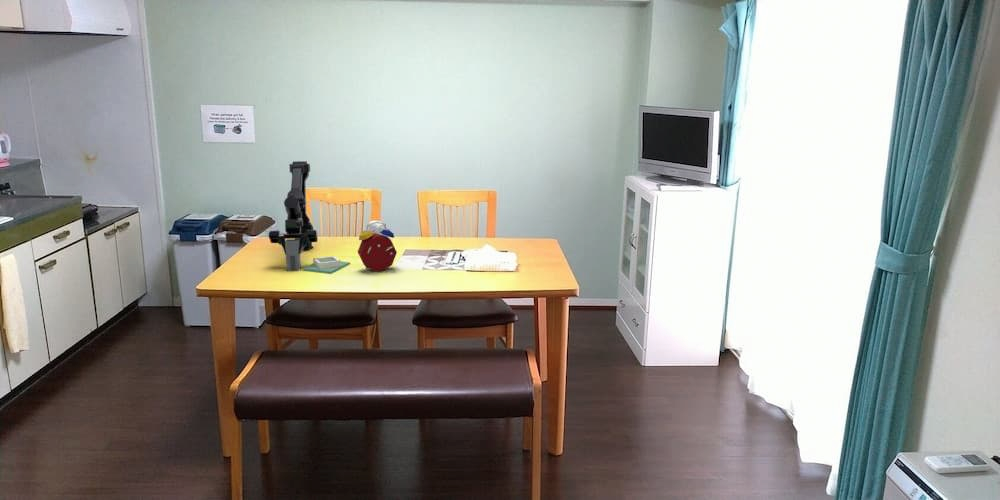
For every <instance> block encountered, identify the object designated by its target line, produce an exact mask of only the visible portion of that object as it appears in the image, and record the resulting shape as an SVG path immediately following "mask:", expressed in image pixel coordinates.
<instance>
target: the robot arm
mask: <svg viewBox="0 0 1000 500" xmlns="http://www.w3.org/2000/svg"><path fill="white" fill-rule="evenodd" d="M310 172H311V163H308V161H306V160H305V161H300V160H298V161H297V160H296V161H294V160H293V161H292V163H289V173H290V174H291V185H290V186H291V187H290V190H289V191H288V192H287V195H286V198H285V200H284V202H283V204H284V208H285V212H286V214H287V219H285V221H284V231H285V233H284V232H280V230H270V231H269V232H268V239H269V241H270V243H271V244H278V245H280V246H281V247H282V249H283V252H284V255H285V256H286V249H285V241H286V239H299V245H300V246H299V255H300V256H301V254H302V252H303V251H304V252H305V251H309V250H310V249H313V248H314V246H313V243H317V242H318V240H319V239H318V232H317V230H316V229H314V226H313V224H312V222H311V219H310V217H309V216H308V214H307V192H306V191H307V190H306V182H307V180H308V178H309V176H310Z"/></svg>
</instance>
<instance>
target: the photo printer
mask: <svg viewBox="0 0 1000 500" xmlns="http://www.w3.org/2000/svg"><path fill="white" fill-rule="evenodd" d="M374 222H379V223H383V222H381V221H379V220H371V221H369V223H368V225H369V224H371V223H374ZM379 223H375V224H372V225H369V226H368V231H371V232H372V231H373V230H375V231H374V232H375V233H377V234H380V235H383V234H381V233H380V232H381V231H382V230H387V229H385V225H384V224H385V223H384V224H379ZM374 232H372V233H373V234H374ZM383 236H386V235H383Z"/></svg>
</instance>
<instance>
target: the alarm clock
mask: <svg viewBox="0 0 1000 500" xmlns="http://www.w3.org/2000/svg"><path fill="white" fill-rule="evenodd" d="M375 223H379V222H374V223H371V224H369V223H368V224H367V225H366V230H362V232H361V233H360V234H359V237H358V241H360V244H359V247H358V249H357V253H358V256H359V258H360V260H361V262H362V264H363V266H364V267H365V270H364V271H365V272H367V271H368V270H369V269H370V270H372V271H376V272H378V273H379V272H382V271H384V270H385V269H389V270H390V269H391V267H392V266H393V265H394V261H395V259H396V256H397V253H398V252H397V250H396V248H395V246H394V245H395V244H394V243H393V241H392V239H394V238H395V235H394V232H393V231H391V230H390V228H387V225H386V223H383V222H382V223H379V224H384V225H385V229H386V230H382V231H381V232H380V233H381V234H383V235H386V236H383V235H380V234H377V233H375V232H374V231H375V230H373V231H372V232H374V234H373V233H372V232H371V231H369V225H372V224H375ZM391 238H392V239H391Z"/></svg>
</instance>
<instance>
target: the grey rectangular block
mask: <svg viewBox="0 0 1000 500" xmlns="http://www.w3.org/2000/svg"><path fill="white" fill-rule="evenodd" d="M299 246H300V245H299V239H285V249H286V255H285V261H286V271H287V272H288V271H289V272H290V271H291V272H295V271H301V269H302V263H301V261H302V260H301V254H300V255H299Z"/></svg>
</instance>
